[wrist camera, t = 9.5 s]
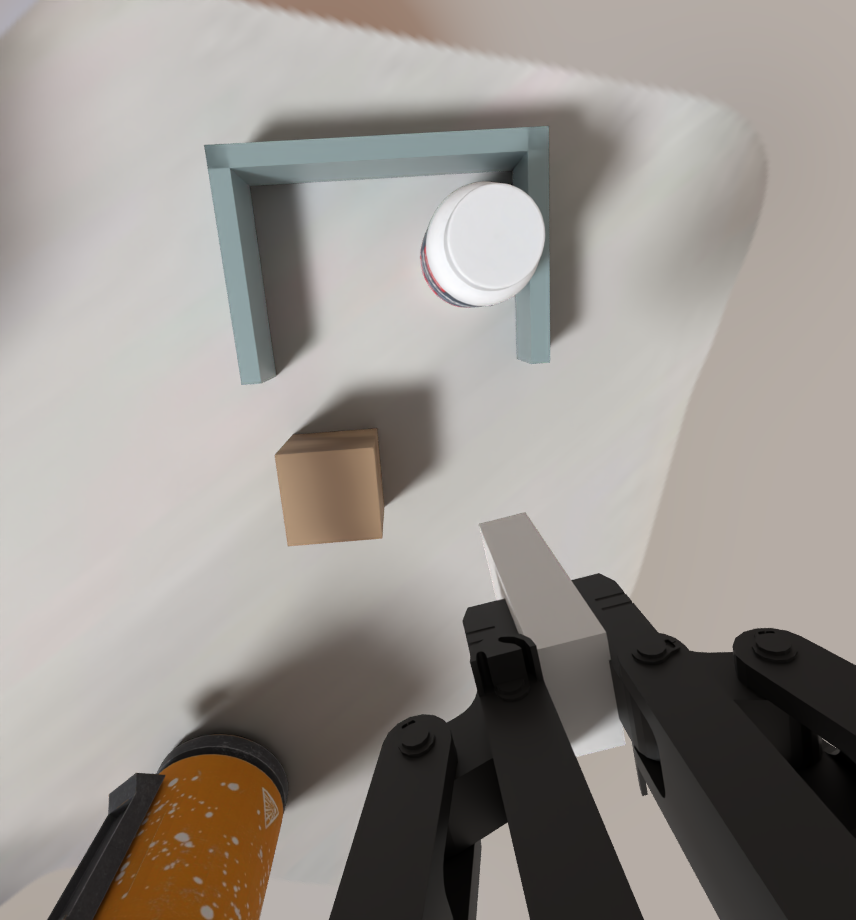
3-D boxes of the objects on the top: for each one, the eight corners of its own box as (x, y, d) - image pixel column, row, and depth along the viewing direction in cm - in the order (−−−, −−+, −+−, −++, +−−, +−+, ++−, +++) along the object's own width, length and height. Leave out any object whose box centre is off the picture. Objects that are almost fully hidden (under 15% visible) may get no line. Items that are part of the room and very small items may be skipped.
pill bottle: (400, 262, 30) (401, 239, 21) (463, 186, 29) (492, 129, 20) (470, 328, 31) (498, 331, 22) (533, 256, 30) (587, 231, 21)
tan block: (303, 513, 33) (287, 546, 28) (293, 434, 32) (274, 455, 27) (384, 506, 33) (382, 538, 29) (377, 427, 32) (373, 447, 27)
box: (258, 377, 31) (241, 384, 27) (227, 165, 28) (204, 145, 25) (533, 357, 31) (550, 362, 28) (530, 148, 28) (548, 126, 25)
